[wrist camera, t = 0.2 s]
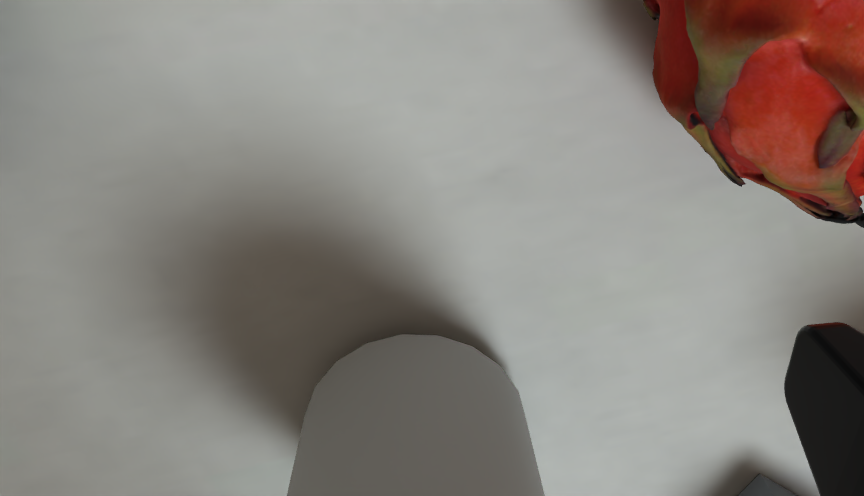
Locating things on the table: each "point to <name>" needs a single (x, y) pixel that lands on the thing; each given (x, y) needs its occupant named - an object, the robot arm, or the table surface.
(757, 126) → the dragon fruit
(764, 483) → the bay
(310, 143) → the table surface
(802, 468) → the table surface
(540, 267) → the table surface
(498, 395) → the can
